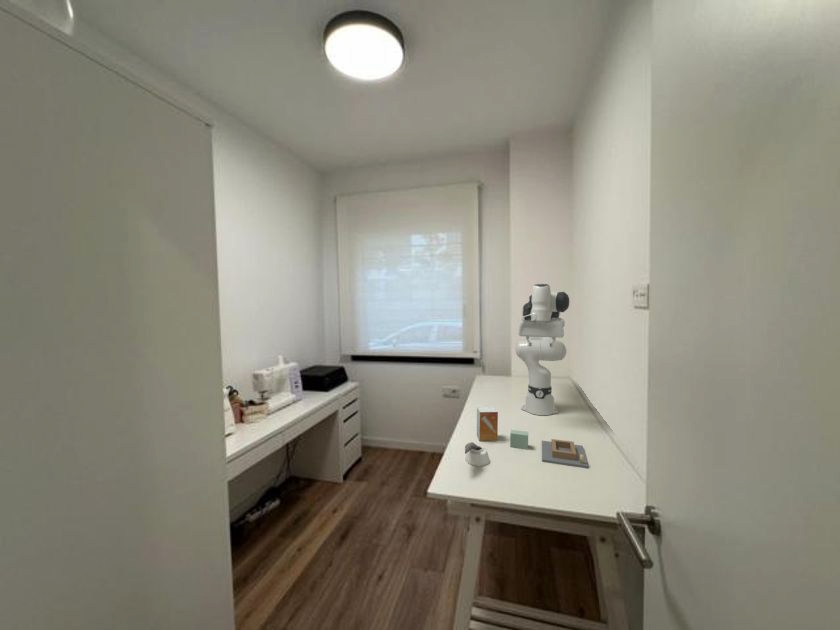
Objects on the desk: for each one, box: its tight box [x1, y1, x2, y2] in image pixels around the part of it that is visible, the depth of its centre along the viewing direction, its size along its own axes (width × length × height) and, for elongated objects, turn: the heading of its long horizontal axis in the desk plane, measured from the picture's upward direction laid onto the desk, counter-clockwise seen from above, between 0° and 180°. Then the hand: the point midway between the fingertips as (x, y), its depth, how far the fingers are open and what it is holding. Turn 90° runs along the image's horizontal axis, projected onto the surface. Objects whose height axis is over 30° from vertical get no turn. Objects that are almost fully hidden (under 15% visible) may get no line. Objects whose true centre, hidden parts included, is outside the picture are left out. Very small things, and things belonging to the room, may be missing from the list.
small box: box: [476, 406, 499, 442], centre depth 152 cm, size 8×6×13 cm
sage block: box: [509, 429, 529, 450], centre depth 144 cm, size 4×7×6 cm, turn 71°
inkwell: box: [464, 442, 490, 467], centre depth 128 cm, size 9×18×10 cm, turn 155°
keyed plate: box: [541, 438, 589, 469], centre depth 137 cm, size 18×16×4 cm
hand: (540, 346), depth 163 cm, fingers open, 8 cm apart
